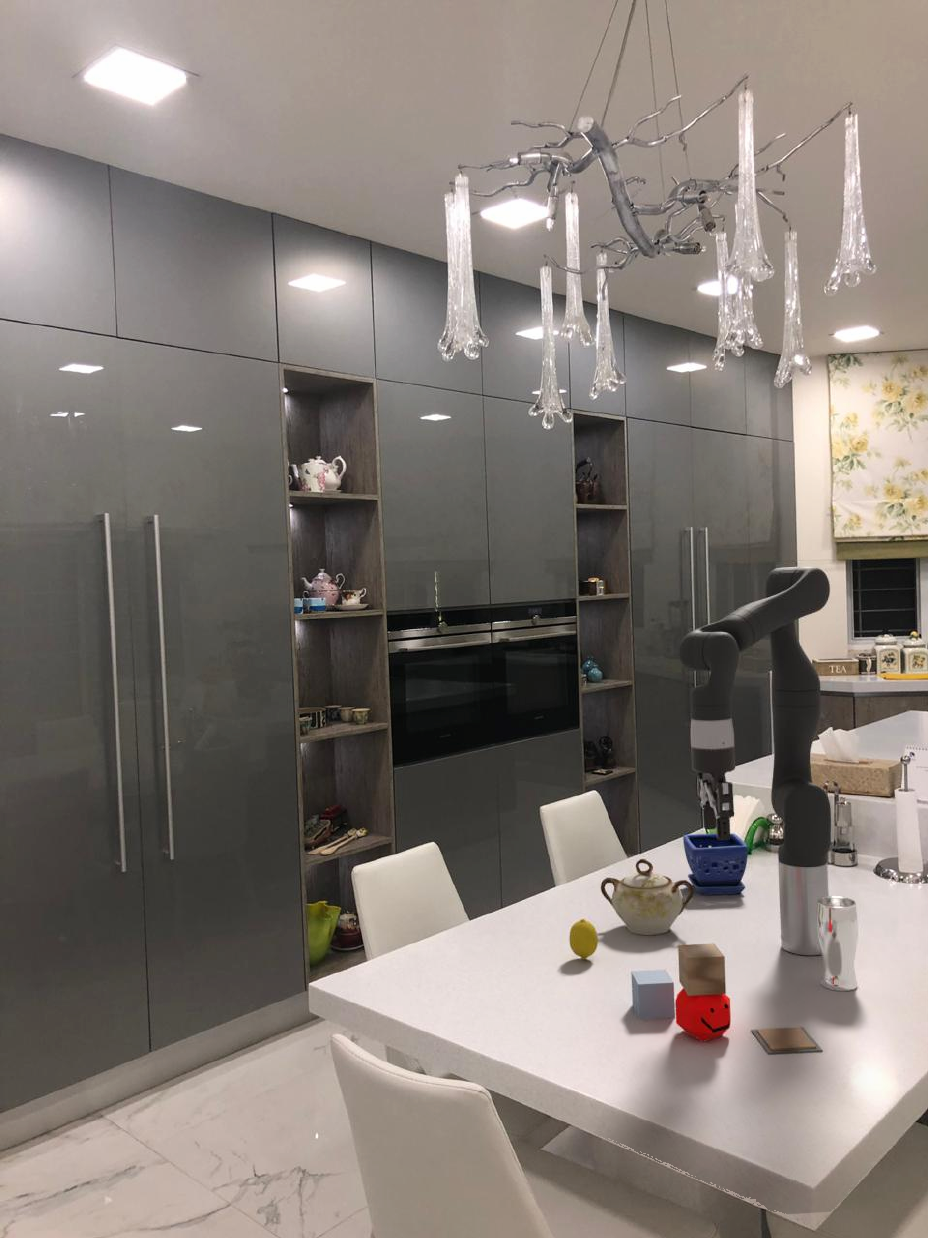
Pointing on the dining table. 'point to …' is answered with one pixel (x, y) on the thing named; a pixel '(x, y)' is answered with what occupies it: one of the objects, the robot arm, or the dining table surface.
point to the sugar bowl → (647, 900)
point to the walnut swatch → (786, 1040)
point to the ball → (703, 1014)
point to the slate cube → (653, 994)
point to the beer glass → (837, 941)
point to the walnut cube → (701, 969)
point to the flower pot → (716, 863)
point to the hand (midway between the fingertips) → (716, 834)
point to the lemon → (583, 939)
